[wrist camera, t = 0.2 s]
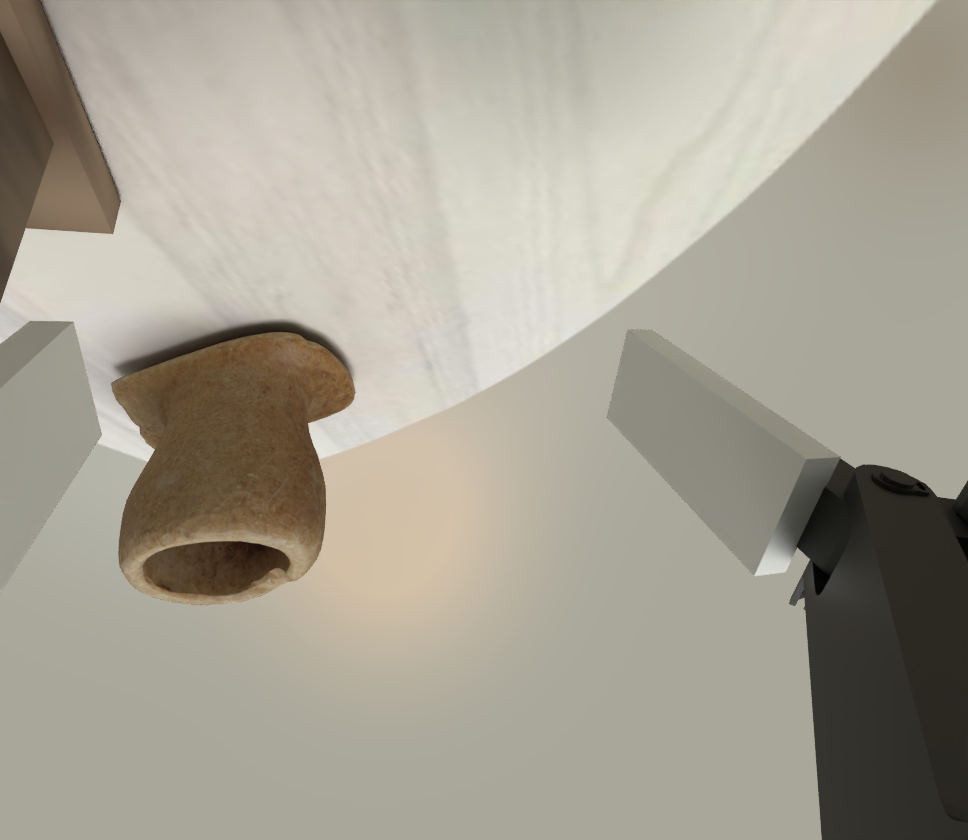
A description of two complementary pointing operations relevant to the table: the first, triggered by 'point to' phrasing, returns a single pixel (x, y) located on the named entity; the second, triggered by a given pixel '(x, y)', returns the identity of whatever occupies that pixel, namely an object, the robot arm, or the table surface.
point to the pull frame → (44, 140)
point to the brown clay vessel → (229, 468)
